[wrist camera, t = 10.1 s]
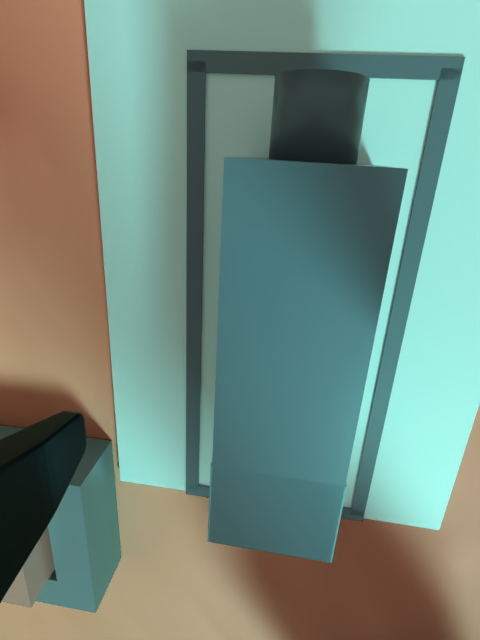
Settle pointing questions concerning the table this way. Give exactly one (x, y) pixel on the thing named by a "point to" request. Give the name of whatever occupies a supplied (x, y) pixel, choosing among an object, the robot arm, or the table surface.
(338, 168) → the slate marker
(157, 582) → the table surface
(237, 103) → the paper sheet
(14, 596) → the button
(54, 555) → the button frame
